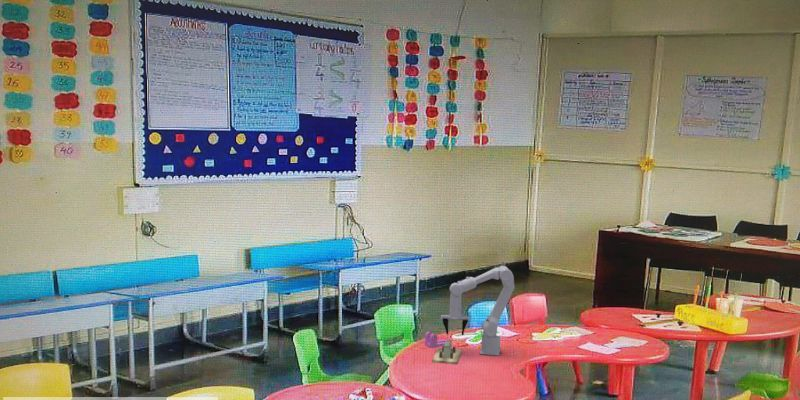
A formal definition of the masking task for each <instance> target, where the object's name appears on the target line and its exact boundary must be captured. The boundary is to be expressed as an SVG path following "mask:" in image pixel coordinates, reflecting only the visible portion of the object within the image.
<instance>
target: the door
mask: <svg viewBox="0 0 800 400" xmlns="http://www.w3.org/2000/svg"><path fill="white" fill-rule="evenodd" d="M445 340H446V342H445V344H444V358H449V356H450V353H451V349H452V345H453V343H452V340H451V339H445Z"/></svg>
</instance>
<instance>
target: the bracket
mask: <svg viewBox="0 0 800 400" xmlns="http://www.w3.org/2000/svg"><path fill="white" fill-rule="evenodd" d="M446 340H447V339H438V335H437V334H436V333H433V332H432V331H431V332H430V331H427V332H426V333H425V335H424V345H425V346H427V347H428V348H430V349H433V348H440V347H443V346H444V344H445V342H446Z"/></svg>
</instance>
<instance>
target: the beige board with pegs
mask: <svg viewBox="0 0 800 400" xmlns="http://www.w3.org/2000/svg"><path fill="white" fill-rule="evenodd" d="M462 354H463V349H460V348H459V349H457V348H456V346H453V347H452V348H451V353H450V356H449V358H444V346H441V347H437V350H436V352H435V354H434V356H433V358H432V359H431V362H432V363H438V364H439V363H440V364H451V365H458V363H459V362H460V361H459V360H460V357H461V355H462Z"/></svg>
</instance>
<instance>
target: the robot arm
mask: <svg viewBox="0 0 800 400" xmlns="http://www.w3.org/2000/svg"><path fill="white" fill-rule="evenodd" d="M514 277H515V276H514V273H513V272H512V270H511V269H509V268H508V267H507V266H506V265H500V266H498V267H494V268H491V269H490V270H488V271H486V272H484V273H482V274H480V275H477V276H475V277H473V276H466V277H465V279H461V280H458V281H457V282H453V283H451V285H450V286H449V288H448V289H449V292H450V295H449V297H450V298H449V314H441V315H440V320H441V321H442V324H443V326H444V329H445V332H446V335H449V320H451V321H462V322H461V327H462V329H461V336H464V334H465V333H464V332H465V329H466V326H467V324H468V322H470V321H471V316H470V315H469V316H467V315H462V300H463V299H462V294H463V293H466V292H468V291H470V290H473V289H476V288H477V285H478V284H481V283H484V282H486V281H489V280H491V279H493V280H497V281H498V280H499V279H500V281H501V283H502V285H503V288H502V290H501V291H500V293H499V296H498V297H497V300H496V301H495V304H494V306H493V308H492V310H491V312H490V314H489V315H487V317H486V319H485V320H484V321H483V322H482V323H481V329H482V333H481V345H480V347H481V348H480V351H479V354H480V355H487V356H499V355H500V352H501V335H497V333H498V327H499V322H500V319H501V317H502V315H503V313H504V310H505V309H506V307H507V304H508V302H509V300H510V298H511V297H512V294H513V292H514V291H515V287H516V286H515V278H514Z"/></svg>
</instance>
